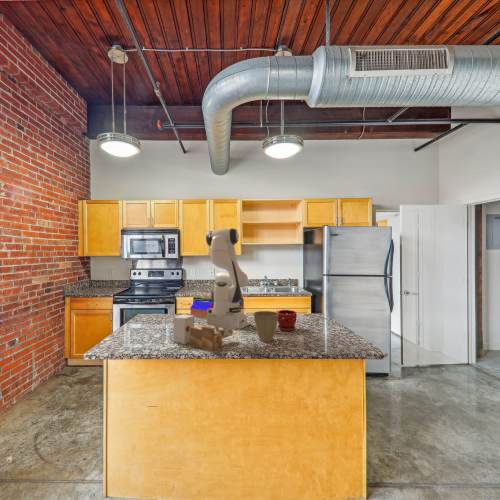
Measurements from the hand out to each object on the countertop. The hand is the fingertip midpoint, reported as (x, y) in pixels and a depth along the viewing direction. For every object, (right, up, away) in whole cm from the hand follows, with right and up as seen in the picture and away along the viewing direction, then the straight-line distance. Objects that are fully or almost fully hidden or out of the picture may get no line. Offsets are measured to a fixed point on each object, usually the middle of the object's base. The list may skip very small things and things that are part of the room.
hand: (221, 335), depth 167 cm
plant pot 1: (+26, -5, +8) cm, 28 cm away
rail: (0, -2, 0) cm, 2 cm away
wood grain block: (-9, -5, -3) cm, 11 cm away
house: (-22, -6, +74) cm, 78 cm away
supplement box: (-23, -6, +6) cm, 24 cm away
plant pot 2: (+41, -5, +31) cm, 52 cm away
